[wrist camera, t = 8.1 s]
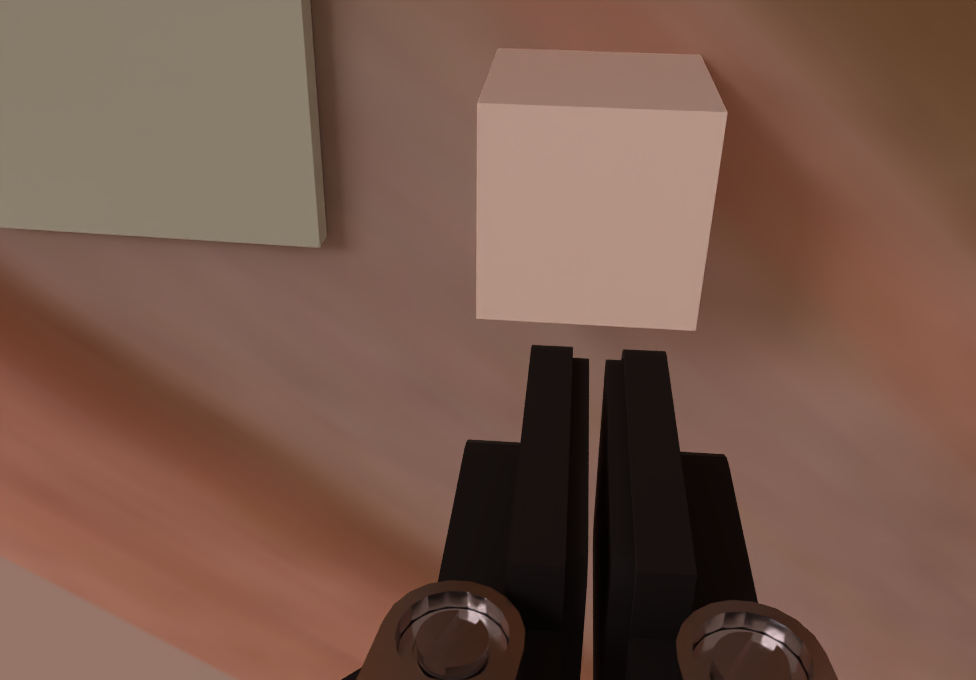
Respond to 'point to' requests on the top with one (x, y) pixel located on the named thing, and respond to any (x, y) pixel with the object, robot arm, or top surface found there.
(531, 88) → the blank block
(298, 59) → the mat
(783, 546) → the top surface
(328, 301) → the top surface
